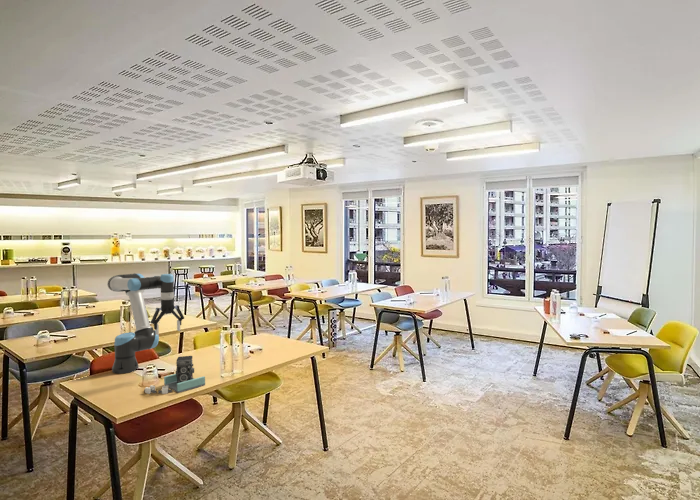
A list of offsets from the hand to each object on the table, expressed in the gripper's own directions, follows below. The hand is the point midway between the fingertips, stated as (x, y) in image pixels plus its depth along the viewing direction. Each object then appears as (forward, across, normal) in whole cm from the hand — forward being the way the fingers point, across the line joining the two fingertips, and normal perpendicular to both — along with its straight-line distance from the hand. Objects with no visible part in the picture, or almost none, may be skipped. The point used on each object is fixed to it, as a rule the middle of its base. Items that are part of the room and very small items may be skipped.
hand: (168, 332), depth 264 cm
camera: (+26, -2, -25) cm, 36 cm away
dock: (+27, -2, -25) cm, 37 cm away
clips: (+27, -17, -25) cm, 40 cm away
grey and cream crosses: (+27, -17, -23) cm, 39 cm away
